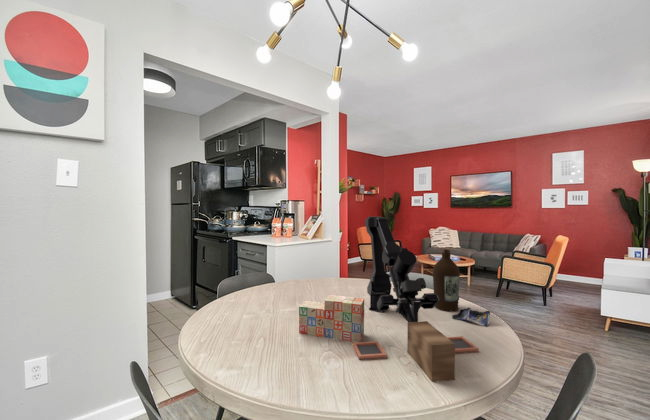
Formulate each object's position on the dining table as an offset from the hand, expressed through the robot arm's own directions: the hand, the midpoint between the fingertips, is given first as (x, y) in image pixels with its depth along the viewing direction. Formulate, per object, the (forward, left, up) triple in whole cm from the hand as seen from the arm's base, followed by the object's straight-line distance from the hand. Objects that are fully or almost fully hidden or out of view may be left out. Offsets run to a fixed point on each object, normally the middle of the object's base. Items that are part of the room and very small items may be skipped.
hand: (415, 328), depth 83 cm
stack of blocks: (-27, -2, -7) cm, 28 cm away
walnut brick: (+4, -6, -7) cm, 10 cm away
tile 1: (-12, -7, -6) cm, 15 cm away
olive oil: (+5, +44, -7) cm, 45 cm away
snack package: (+14, +34, -7) cm, 37 cm away
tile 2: (+11, +9, -6) cm, 16 cm away
